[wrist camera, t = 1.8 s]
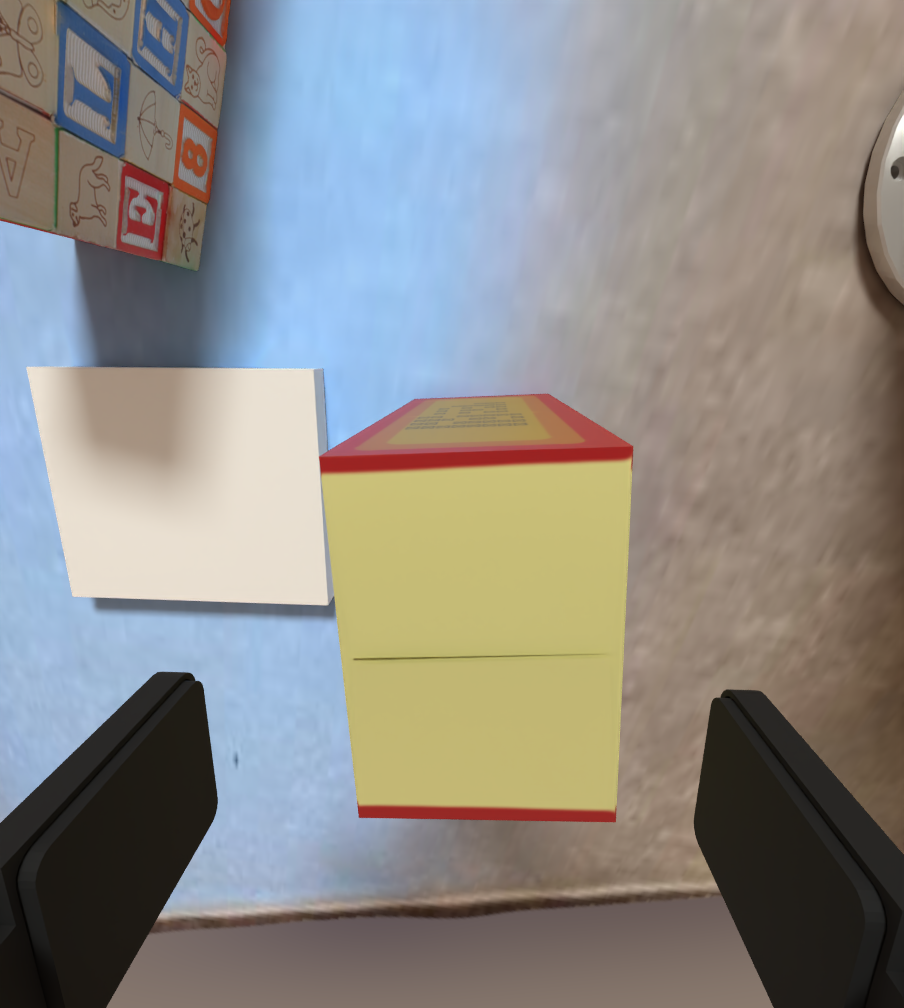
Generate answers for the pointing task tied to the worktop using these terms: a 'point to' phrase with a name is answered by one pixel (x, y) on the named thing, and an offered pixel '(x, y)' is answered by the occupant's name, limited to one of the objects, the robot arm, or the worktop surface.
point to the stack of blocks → (112, 120)
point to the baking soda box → (482, 608)
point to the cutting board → (188, 481)
